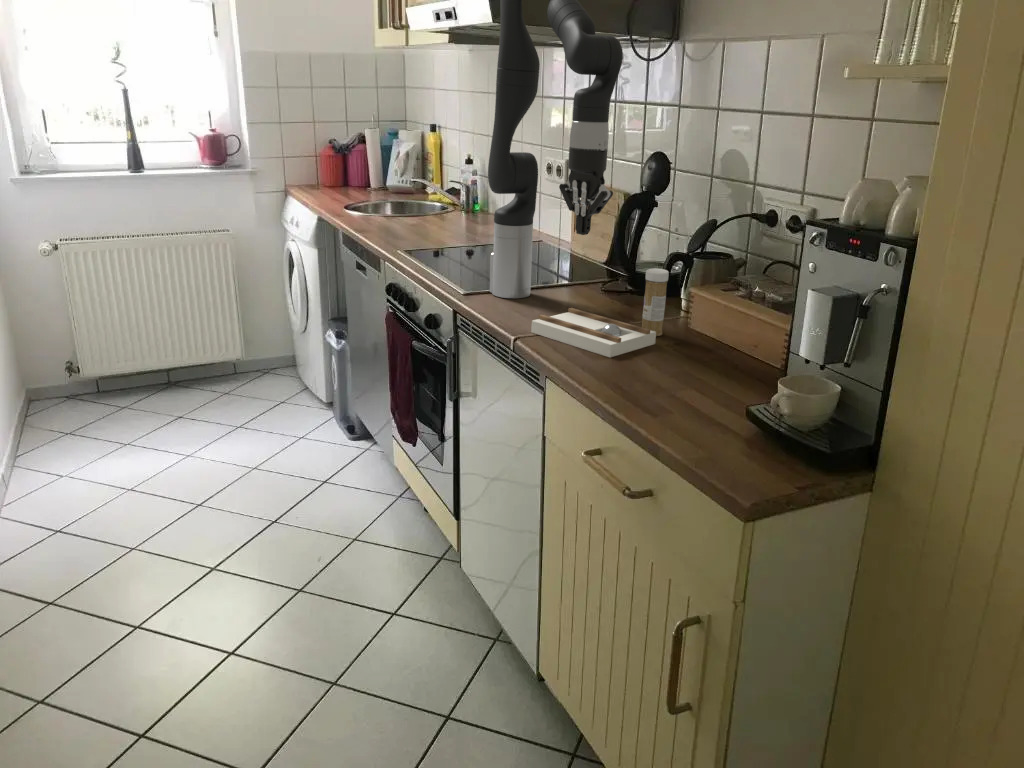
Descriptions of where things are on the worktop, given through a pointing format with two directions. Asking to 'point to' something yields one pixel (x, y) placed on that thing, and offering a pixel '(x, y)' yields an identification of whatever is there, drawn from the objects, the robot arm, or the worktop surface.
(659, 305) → the sprinkles bottle
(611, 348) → the track board
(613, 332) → the ball
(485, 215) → the worktop surface
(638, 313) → the worktop surface
